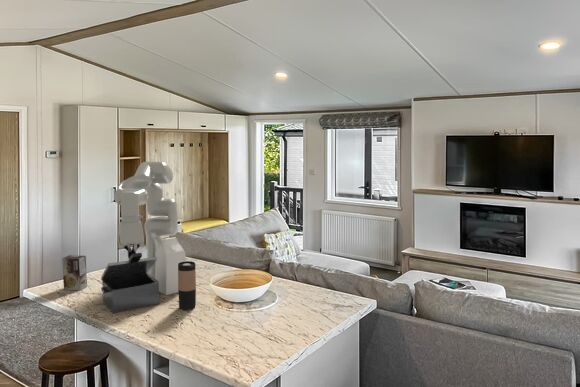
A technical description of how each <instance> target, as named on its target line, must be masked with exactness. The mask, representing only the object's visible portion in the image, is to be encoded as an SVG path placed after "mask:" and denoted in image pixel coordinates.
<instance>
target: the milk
mask: <svg viewBox="0 0 580 387" xmlns="http://www.w3.org/2000/svg"><path fill="white" fill-rule="evenodd" d="M178 240H179V239H178V238H177V237H176V236H175V237H169V238H168V237H166V238H164V239H163V244H162V246H161V247H160V248H159V249H158V251H157V252H156V257H157V260H156V264H155V278H154V279H156V280H157V281H158V283H159V293H162V294H163V295H165V296H167V295H172V294H175V293H178V263H180V262H185V261H187V256H186V255H187V254H186V252H185V250H184V248H183V247H182V246H181V243H180V242H179V241H178Z"/></svg>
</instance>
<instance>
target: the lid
mask: <svg viewBox="0 0 580 387" xmlns="http://www.w3.org/2000/svg"><path fill="white" fill-rule="evenodd" d="M142 257H143V254H142V252H136V253H135V254H132V255H131V256H130V258H128V260H123V261H117V262H116V261H115V262H109V263H108V264H107V265H106V267H105V269H104V271H103V273H102V275H101V277H100V281H102V280H107V279H114V278H120V277H126V276H133V275H139V274H145V273H148V272H149V270H150V269H151V267H152V266H153V265H154V263H155V262H156V260H157V257H151V258H147V257H145V258H142Z"/></svg>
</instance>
